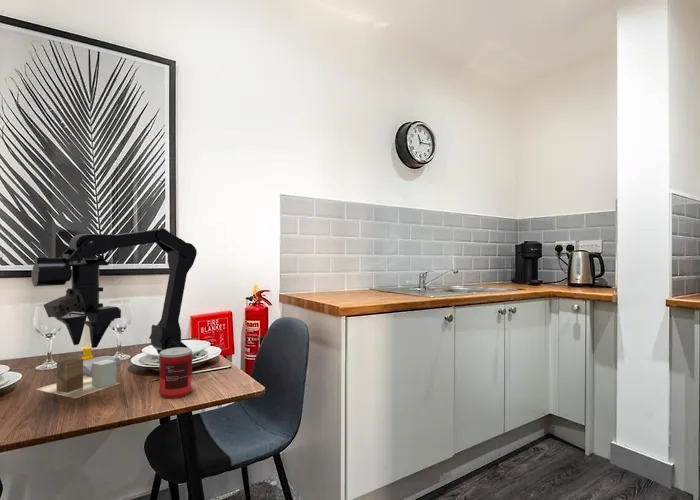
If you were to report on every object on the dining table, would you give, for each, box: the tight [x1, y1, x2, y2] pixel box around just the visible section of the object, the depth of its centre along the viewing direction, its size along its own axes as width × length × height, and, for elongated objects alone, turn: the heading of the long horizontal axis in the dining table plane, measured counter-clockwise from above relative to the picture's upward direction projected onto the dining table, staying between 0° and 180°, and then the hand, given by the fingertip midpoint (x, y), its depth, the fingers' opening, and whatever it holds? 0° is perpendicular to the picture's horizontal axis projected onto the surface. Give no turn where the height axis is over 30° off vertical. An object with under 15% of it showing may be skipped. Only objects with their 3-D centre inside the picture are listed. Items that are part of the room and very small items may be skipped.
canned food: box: [159, 347, 193, 399], centre depth 101 cm, size 8×8×11 cm
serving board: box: [35, 375, 121, 399], centre depth 104 cm, size 16×12×1 cm
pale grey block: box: [91, 359, 117, 388], centre depth 105 cm, size 4×4×6 cm
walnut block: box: [56, 357, 84, 395], centre depth 100 cm, size 4×4×8 cm
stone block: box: [83, 355, 121, 376], centre depth 119 cm, size 12×5×10 cm
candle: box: [79, 318, 94, 362], centre depth 126 cm, size 5×5×16 cm
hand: (85, 346), depth 97 cm, fingers open, 7 cm apart
